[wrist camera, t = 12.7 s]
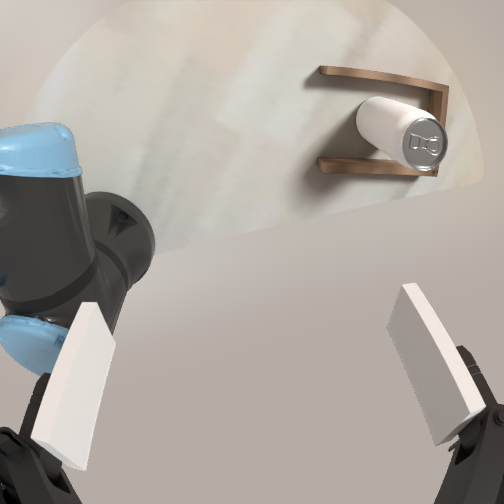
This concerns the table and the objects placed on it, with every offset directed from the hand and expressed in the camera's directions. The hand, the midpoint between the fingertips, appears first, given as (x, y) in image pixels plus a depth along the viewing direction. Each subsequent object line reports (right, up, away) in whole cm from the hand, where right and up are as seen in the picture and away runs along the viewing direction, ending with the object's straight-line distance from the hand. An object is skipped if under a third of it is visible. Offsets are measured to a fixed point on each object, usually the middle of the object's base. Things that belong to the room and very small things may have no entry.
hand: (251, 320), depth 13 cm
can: (+16, +20, +23) cm, 34 cm away
